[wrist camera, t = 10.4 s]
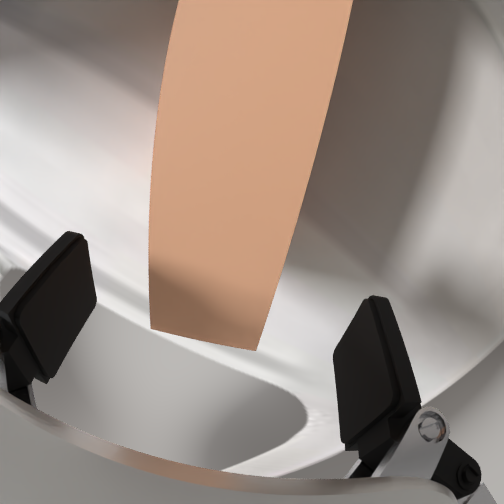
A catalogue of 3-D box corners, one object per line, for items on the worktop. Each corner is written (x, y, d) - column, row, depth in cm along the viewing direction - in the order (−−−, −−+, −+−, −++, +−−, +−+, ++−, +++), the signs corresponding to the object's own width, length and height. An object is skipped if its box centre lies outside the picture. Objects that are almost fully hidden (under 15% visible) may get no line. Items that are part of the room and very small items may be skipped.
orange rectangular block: (336, -60, 7) (374, -131, 1) (262, 252, 17) (256, 351, 11) (255, -75, 7) (241, -154, 1) (192, 237, 16) (150, 328, 10)
